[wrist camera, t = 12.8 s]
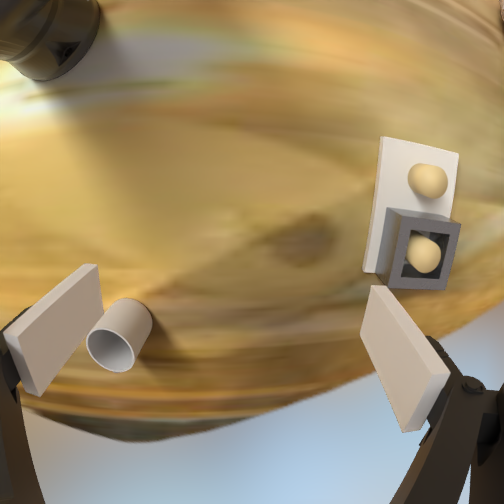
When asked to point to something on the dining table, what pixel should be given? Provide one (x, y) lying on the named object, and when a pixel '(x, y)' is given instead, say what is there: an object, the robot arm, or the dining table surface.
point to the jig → (411, 196)
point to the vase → (502, 8)
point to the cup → (119, 335)
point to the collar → (396, 244)
